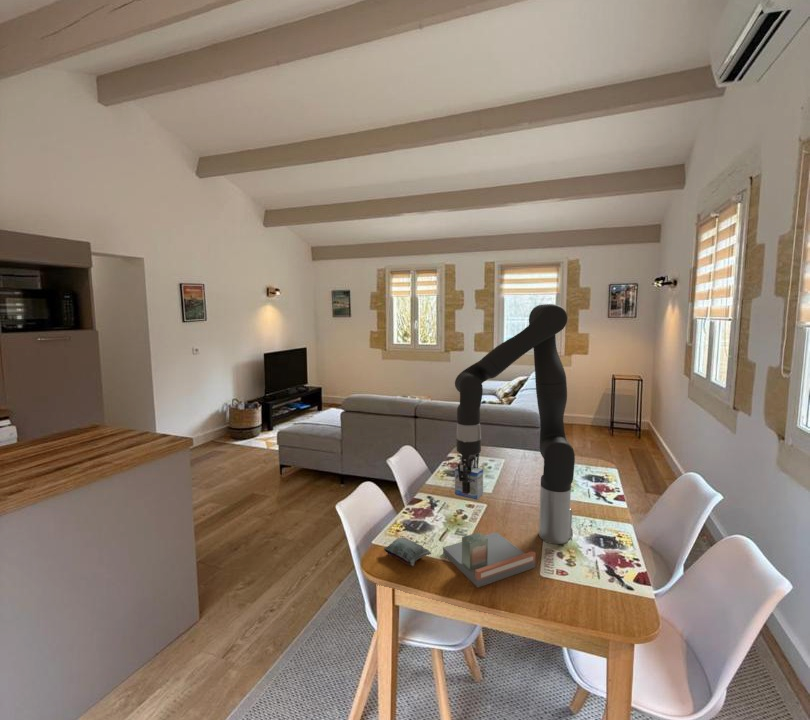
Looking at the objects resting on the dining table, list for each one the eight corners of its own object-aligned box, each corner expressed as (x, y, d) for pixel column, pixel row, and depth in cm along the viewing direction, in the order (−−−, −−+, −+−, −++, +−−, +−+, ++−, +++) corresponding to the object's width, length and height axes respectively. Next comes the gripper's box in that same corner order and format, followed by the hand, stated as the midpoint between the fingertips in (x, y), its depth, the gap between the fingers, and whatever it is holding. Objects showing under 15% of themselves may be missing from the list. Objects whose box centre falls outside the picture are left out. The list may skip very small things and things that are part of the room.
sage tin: (479, 557, 127) (479, 532, 126) (487, 565, 124) (488, 539, 123) (461, 563, 125) (462, 537, 124) (470, 571, 121) (470, 544, 120)
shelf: (496, 537, 142) (496, 525, 141) (535, 567, 126) (535, 553, 125) (443, 553, 133) (443, 540, 133) (478, 587, 117) (478, 572, 117)
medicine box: (454, 494, 138) (454, 468, 137) (460, 489, 142) (460, 464, 141) (477, 500, 134) (477, 473, 133) (483, 495, 137) (483, 468, 136)
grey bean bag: (403, 544, 139) (402, 529, 138) (431, 559, 131) (431, 543, 130) (383, 556, 133) (382, 541, 132) (411, 572, 124) (411, 556, 124)
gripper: (464, 429, 143) (465, 479, 145) (448, 442, 131) (449, 496, 133) (487, 432, 140) (487, 483, 142) (472, 445, 127) (473, 501, 129)
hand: (468, 489), depth 137 cm, fingers closed on medicine box, 4 cm apart
